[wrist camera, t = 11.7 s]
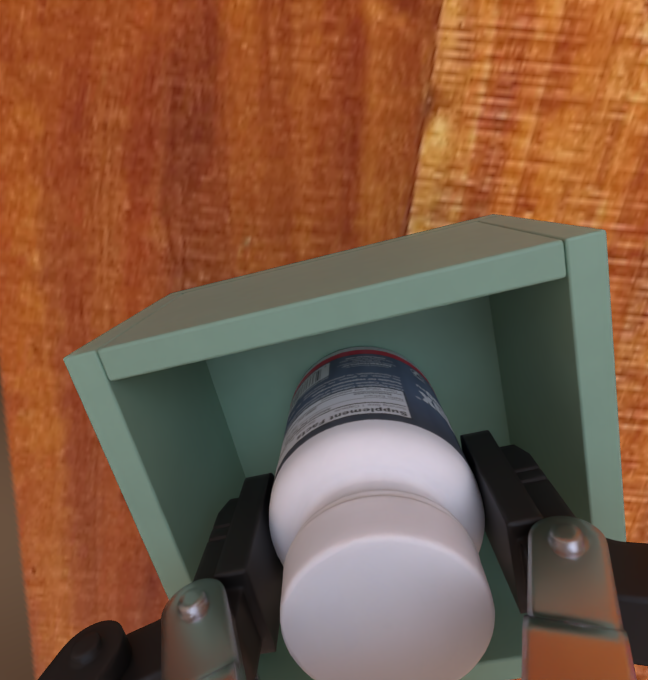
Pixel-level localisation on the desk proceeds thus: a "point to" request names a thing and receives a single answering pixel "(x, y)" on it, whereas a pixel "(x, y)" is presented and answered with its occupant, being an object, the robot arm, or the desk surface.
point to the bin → (370, 331)
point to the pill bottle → (377, 527)
